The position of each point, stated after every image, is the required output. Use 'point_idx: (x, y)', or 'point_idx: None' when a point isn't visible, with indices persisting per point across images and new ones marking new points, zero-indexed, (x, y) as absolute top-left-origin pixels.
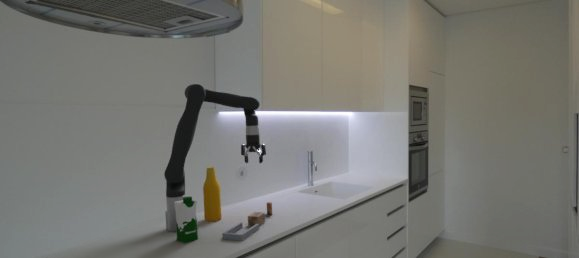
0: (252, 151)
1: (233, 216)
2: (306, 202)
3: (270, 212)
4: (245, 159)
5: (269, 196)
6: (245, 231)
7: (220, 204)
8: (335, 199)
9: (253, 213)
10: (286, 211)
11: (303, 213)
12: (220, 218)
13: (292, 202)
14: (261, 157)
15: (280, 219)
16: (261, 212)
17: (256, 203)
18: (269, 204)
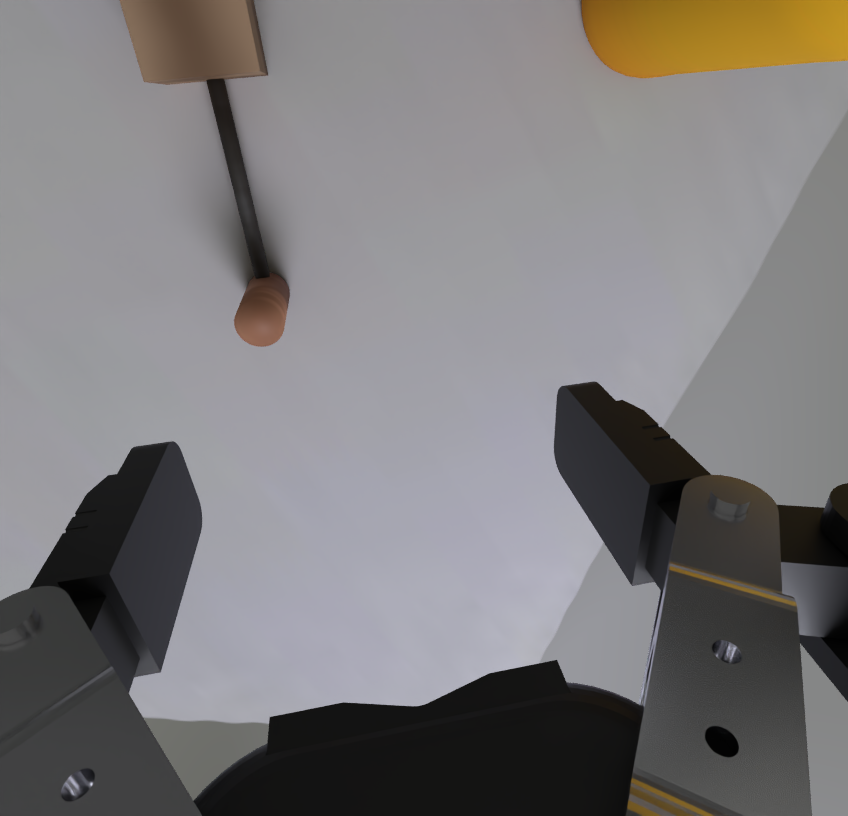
0: (420, 724)
1: (519, 148)
2: (216, 607)
3: (248, 285)
4: (633, 424)
5: (512, 624)
6: None
7: (646, 2)
8: None
9: (230, 5)
10: (203, 403)
11: (46, 402)
12: (582, 2)
13: (302, 579)
14: (42, 583)
15: (92, 198)
16: (178, 75)
17: (517, 489)
18: (243, 302)
